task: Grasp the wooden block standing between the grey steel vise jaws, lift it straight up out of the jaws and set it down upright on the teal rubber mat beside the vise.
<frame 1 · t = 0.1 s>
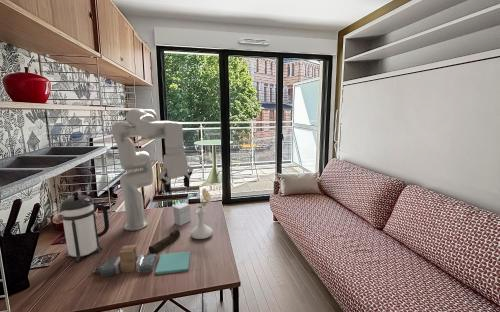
hand: (177, 189, 111), 31 cm above the table, tool pointing down, fingers open, 9 cm apart
wooden block: (130, 268, 107), on the table
mat: (173, 263, 110), on the table
flower in vase: (202, 235, 134), on the table
vise: (130, 267, 107), on the table
coffee press: (87, 252, 120), on the table
small box: (182, 222, 150), on the table
brown wooden branch: (165, 245, 126), on the table
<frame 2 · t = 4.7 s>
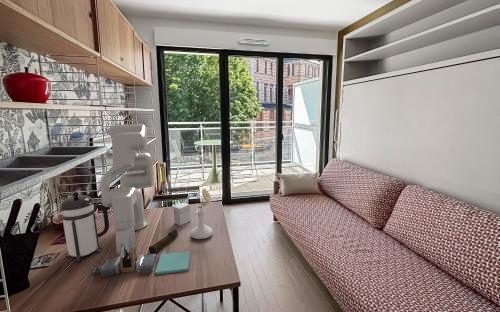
hand: (129, 262, 107), 2 cm above the table, tool pointing down, fingers closed on wooden block, 5 cm apart
wooden block: (129, 268, 107), on the table, touching gripper
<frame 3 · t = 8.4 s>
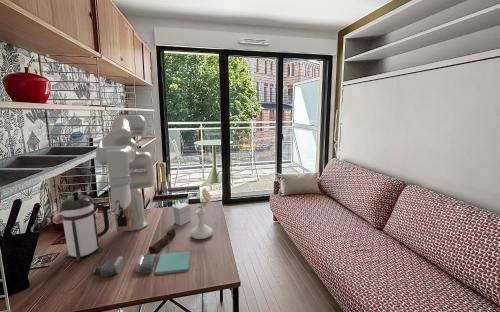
hand: (124, 222, 103), 21 cm above the table, tool pointing down, fingers closed on wooden block, 5 cm apart
wooden block: (125, 228, 104), point 18 cm above the table, touching gripper
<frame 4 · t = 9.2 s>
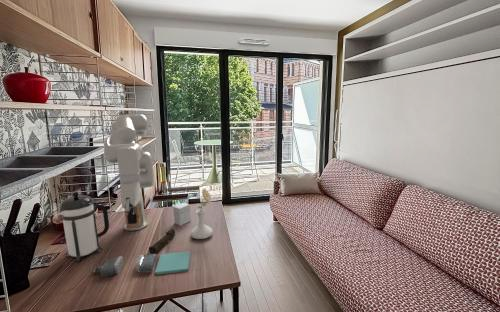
hand: (134, 219, 104), 21 cm above the table, tool pointing down, fingers closed on wooden block, 5 cm apart
wooden block: (135, 225, 104), point 19 cm above the table, touching gripper
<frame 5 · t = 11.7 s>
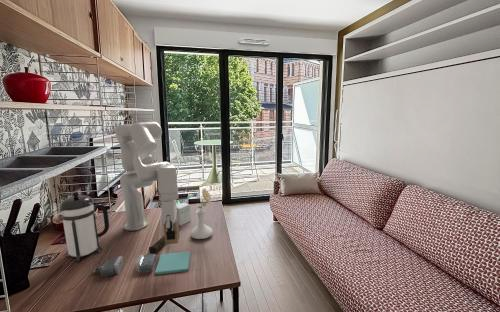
hand: (171, 235, 107), 13 cm above the table, tool pointing down, fingers closed on wooden block, 5 cm apart
wooden block: (172, 240, 108), point 11 cm above the table, touching gripper
when the fingers open (5 cm above the table, at t = 14.0 s): wooden block drops 1 cm, resting on mat.
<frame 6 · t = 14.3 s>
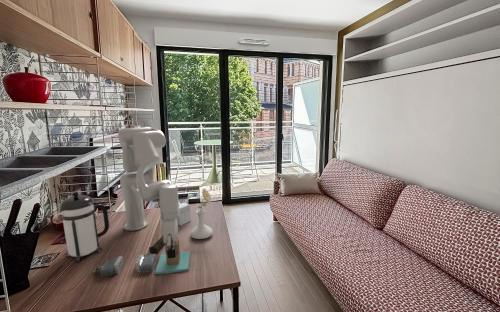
hand: (173, 251, 109), 5 cm above the table, tool pointing down, fingers open, 8 cm apart
wooden block: (173, 261, 110), point 1 cm above the table, touching mat
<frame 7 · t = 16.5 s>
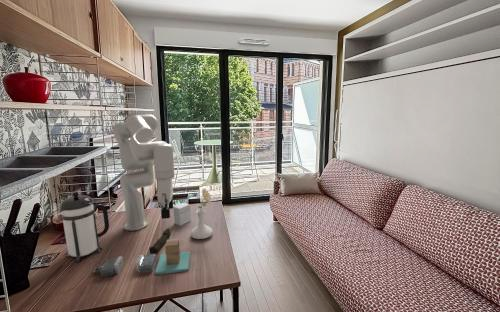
hand: (167, 213, 107), 23 cm above the table, tool pointing down, fingers open, 9 cm apart
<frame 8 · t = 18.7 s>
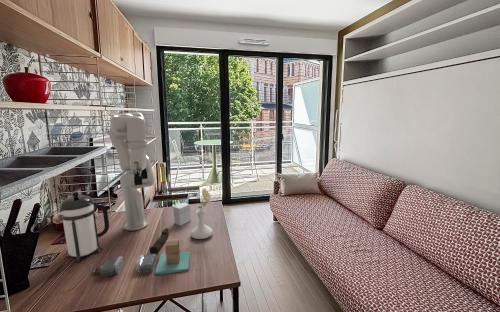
hand: (141, 181, 116), 33 cm above the table, tool pointing down, fingers open, 9 cm apart
at the end: wooden block inside the target area on the mat (0.1 cm from its centre), point 1.0 cm above the mat's base; wooden block tilted 0°; the gripper is holding nothing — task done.
